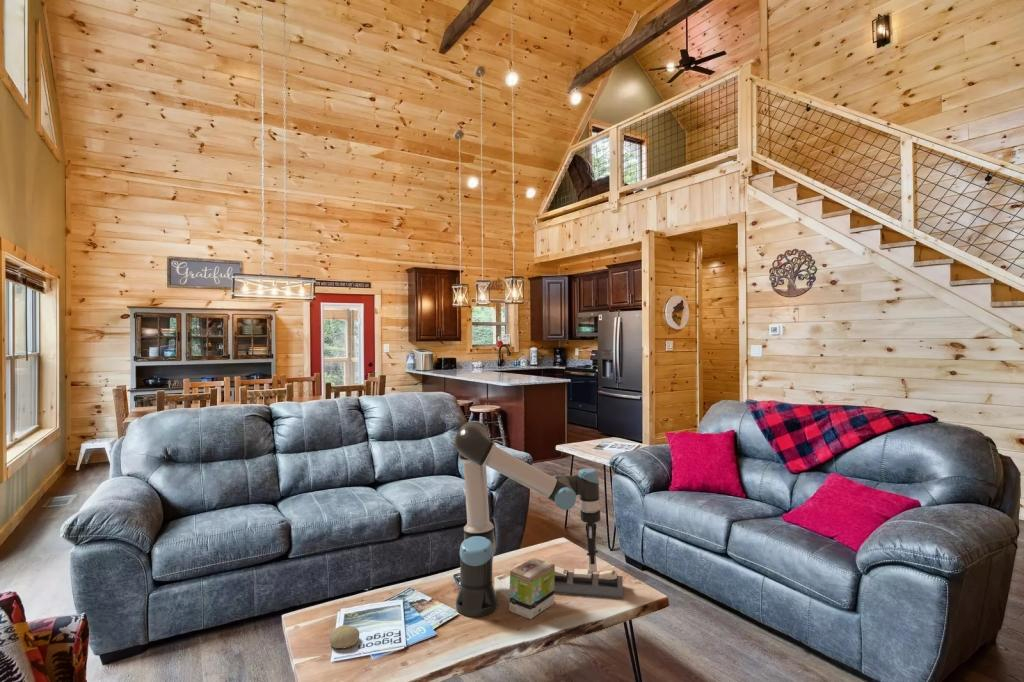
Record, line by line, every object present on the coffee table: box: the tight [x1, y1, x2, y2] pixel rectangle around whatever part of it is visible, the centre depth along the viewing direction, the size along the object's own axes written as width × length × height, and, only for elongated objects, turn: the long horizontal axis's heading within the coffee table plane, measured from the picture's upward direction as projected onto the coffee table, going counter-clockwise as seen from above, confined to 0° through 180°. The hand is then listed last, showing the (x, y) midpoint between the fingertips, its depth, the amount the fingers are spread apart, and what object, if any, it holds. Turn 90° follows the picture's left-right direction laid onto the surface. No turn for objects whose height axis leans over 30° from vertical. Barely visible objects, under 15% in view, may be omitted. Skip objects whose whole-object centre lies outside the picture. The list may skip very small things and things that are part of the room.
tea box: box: [508, 557, 556, 620], centre depth 196 cm, size 15×10×15 cm, turn 143°
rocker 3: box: [598, 569, 618, 580], centre depth 207 cm, size 6×4×2 cm
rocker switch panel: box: [554, 569, 624, 599], centre depth 209 cm, size 30×10×6 cm, turn 79°
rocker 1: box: [555, 565, 568, 576], centre depth 211 cm, size 6×4×2 cm
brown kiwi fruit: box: [329, 624, 360, 649], centre depth 174 cm, size 9×8×8 cm
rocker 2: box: [573, 568, 592, 578], centre depth 209 cm, size 6×4×2 cm
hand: (593, 570), depth 209 cm, fingers closed
